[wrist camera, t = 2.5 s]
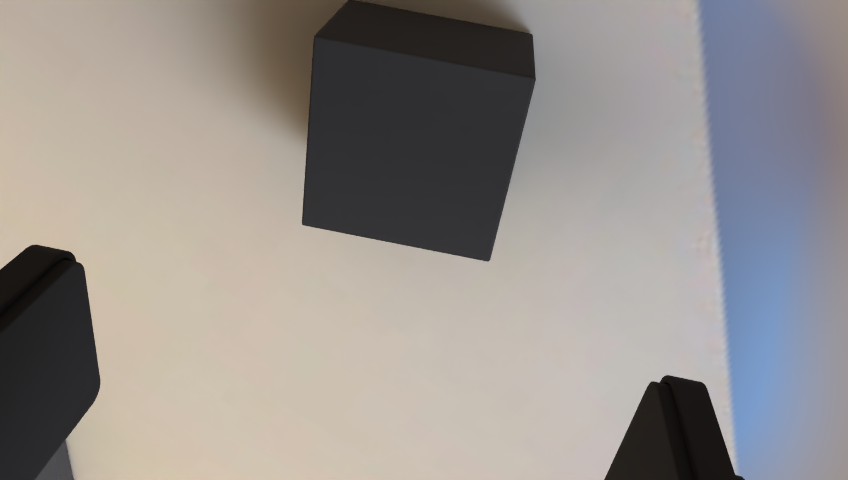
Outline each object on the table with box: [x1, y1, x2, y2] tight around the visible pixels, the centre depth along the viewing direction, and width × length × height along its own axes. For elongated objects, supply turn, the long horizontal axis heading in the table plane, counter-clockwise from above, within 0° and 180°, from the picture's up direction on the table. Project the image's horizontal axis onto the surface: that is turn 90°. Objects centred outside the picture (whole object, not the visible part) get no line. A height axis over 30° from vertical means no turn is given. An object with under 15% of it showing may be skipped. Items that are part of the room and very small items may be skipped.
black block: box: [302, 0, 536, 261], centre depth 19 cm, size 6×6×4 cm
